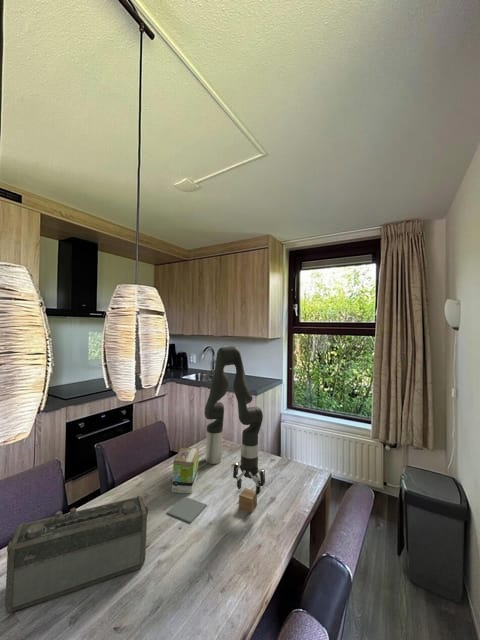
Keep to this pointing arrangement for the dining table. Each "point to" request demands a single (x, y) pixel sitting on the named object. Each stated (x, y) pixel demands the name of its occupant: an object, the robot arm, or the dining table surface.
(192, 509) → the coaster
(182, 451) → the tea box
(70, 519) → the radio
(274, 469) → the dining table surface
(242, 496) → the walnut cube
